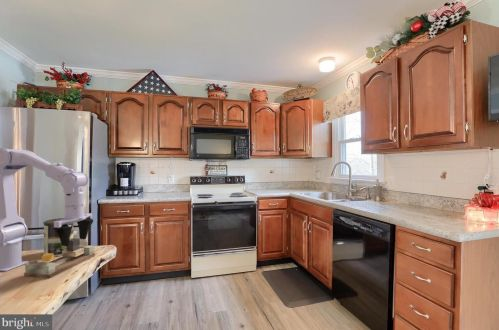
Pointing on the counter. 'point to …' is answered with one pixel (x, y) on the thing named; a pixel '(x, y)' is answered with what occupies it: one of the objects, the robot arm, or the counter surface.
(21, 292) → the counter surface
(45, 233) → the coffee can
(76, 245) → the carriage
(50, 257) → the button
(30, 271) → the rail board
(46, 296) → the counter surface
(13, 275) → the counter surface
